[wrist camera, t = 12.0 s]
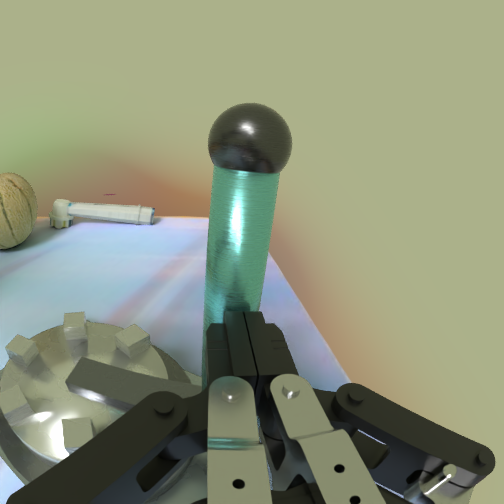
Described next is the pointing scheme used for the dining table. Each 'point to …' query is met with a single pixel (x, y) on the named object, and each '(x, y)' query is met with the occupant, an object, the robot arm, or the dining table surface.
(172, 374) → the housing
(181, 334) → the dining table surface
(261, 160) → the crank handle wheel
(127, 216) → the beige piece
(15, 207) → the cantaloupe
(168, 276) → the dining table surface
